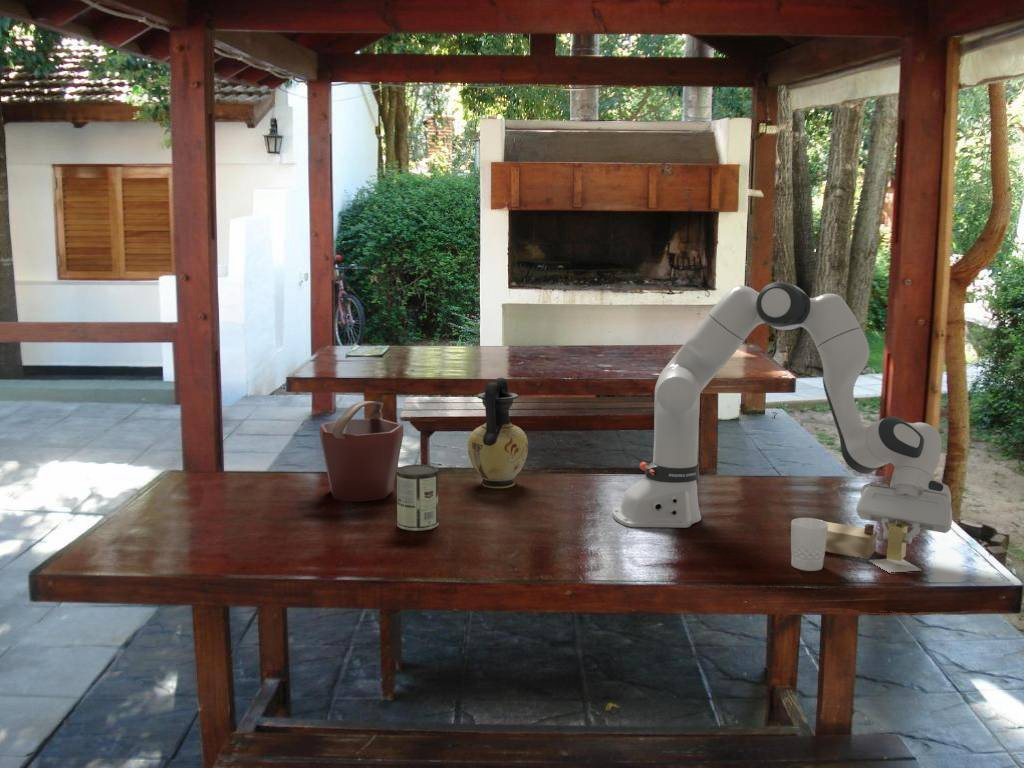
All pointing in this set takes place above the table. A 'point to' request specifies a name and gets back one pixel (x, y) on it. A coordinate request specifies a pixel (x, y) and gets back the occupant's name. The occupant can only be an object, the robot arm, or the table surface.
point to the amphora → (497, 439)
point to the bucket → (361, 454)
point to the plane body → (851, 540)
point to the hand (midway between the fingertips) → (896, 540)
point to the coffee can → (417, 497)
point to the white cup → (808, 543)
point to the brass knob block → (896, 541)
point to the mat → (894, 565)
